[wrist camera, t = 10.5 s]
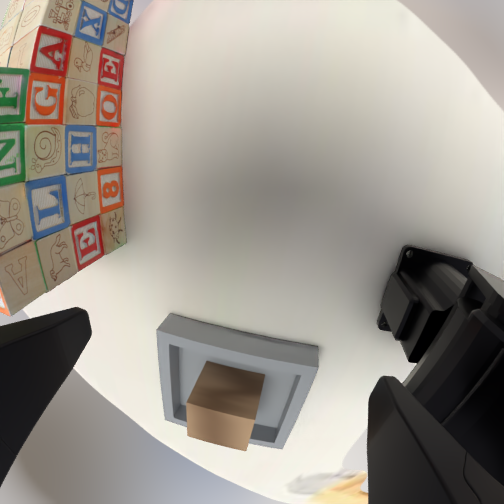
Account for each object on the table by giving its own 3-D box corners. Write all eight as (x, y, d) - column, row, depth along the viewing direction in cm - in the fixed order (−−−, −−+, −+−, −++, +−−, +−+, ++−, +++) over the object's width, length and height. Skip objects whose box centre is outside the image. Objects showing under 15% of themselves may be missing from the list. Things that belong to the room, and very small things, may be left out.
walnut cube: (265, 374, 22) (255, 420, 17) (256, 409, 23) (246, 451, 19) (206, 360, 22) (186, 402, 17) (204, 396, 24) (187, 435, 19)
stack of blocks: (81, 21, 15) (-17, -9, 3) (136, -2, 14) (37, -60, 2) (76, 241, 22) (-31, 298, 10) (129, 245, 21) (8, 321, 9)
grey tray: (318, 346, 20) (318, 367, 18) (284, 430, 25) (282, 449, 22) (170, 313, 22) (156, 329, 19) (173, 403, 26) (165, 419, 24)
